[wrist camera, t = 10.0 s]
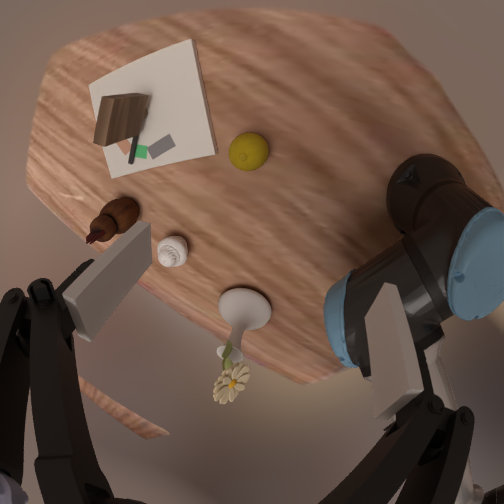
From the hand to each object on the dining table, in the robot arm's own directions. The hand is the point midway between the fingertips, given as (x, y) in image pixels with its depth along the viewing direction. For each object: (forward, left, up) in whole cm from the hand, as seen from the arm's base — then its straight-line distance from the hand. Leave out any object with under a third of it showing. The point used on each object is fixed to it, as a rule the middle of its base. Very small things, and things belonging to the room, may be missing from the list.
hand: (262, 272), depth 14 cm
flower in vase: (-29, +13, -31) cm, 44 cm away
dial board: (+12, +23, -31) cm, 40 cm away
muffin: (-14, +24, -31) cm, 42 cm away
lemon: (+2, +6, -31) cm, 32 cm away
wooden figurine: (-5, +33, -31) cm, 45 cm away
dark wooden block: (+9, +25, -29) cm, 39 cm away
